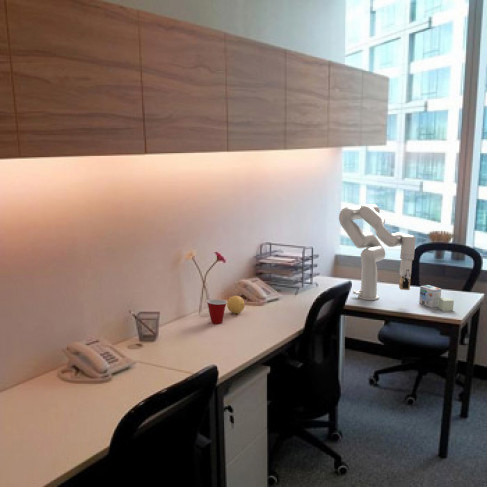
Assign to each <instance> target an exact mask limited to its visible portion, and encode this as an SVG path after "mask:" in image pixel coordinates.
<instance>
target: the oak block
mask: <svg viewBox="0 0 487 487" xmlns="http://www.w3.org/2000/svg"><path fill="white" fill-rule="evenodd" d="M405 278H406V277H405ZM403 281H404V276H401V275H400V276H399V284H398V288H399V290H401V291H410V289H411V288H410V287H411V276H410V277H409V286H408V288H403Z"/></svg>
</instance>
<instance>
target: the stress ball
mask: <svg viewBox="0 0 487 487" xmlns="http://www.w3.org/2000/svg"><path fill="white" fill-rule="evenodd" d="M245 306H246V305H245V300H244V298H243V297H241V296H239V295H233V296H231V297H229V298H228V300H227V303H226V307H227V309H228V310H229V312H230V313H232V314H234V315H238V314H239V313H241V312H243V310H244V309H245Z"/></svg>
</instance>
